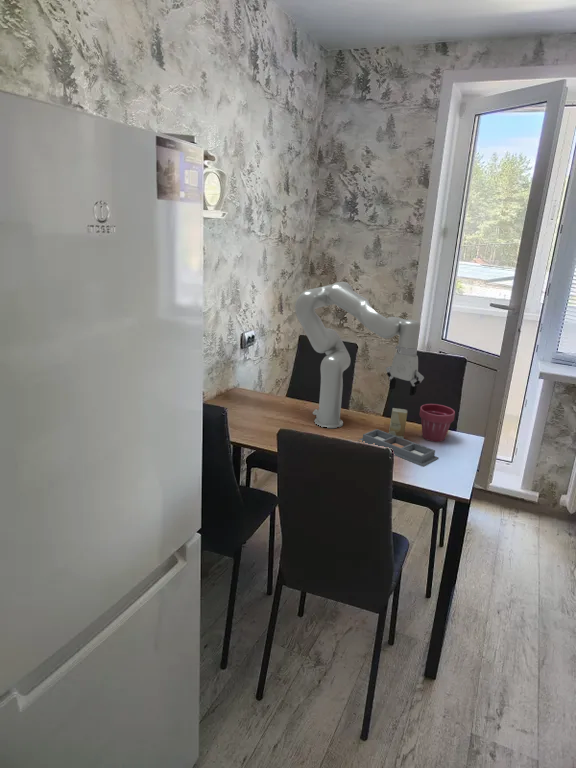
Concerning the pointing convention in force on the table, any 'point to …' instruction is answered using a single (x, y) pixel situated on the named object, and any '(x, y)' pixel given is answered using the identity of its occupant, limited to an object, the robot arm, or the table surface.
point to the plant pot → (435, 421)
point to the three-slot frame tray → (401, 447)
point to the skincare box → (398, 422)
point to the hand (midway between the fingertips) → (402, 391)
